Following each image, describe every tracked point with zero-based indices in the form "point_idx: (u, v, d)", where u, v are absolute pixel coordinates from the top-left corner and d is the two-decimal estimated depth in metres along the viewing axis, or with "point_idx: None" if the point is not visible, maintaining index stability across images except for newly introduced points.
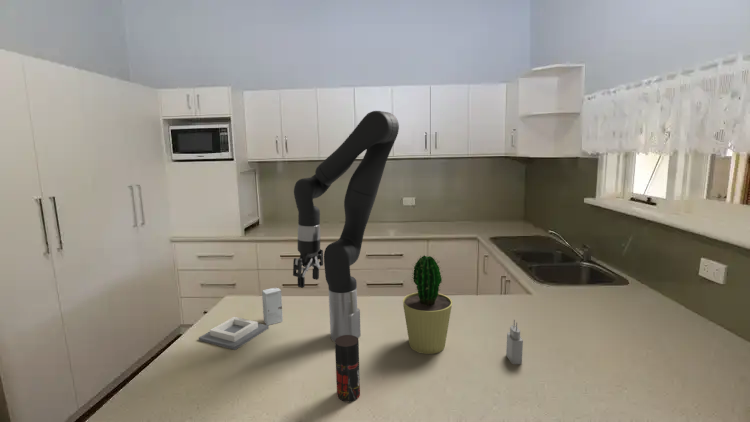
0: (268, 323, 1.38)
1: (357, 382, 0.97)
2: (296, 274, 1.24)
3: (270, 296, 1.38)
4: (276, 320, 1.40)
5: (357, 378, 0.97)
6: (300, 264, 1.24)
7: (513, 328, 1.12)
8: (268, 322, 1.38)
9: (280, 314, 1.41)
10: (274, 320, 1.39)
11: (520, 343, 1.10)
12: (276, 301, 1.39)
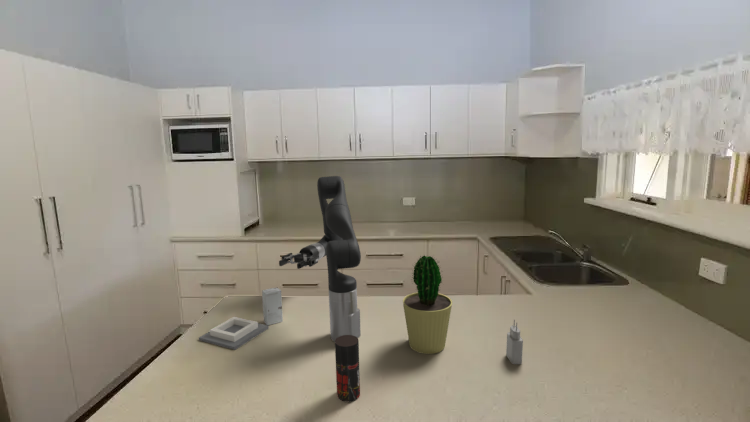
0: (268, 323, 1.38)
1: (357, 382, 0.97)
2: None
3: (270, 296, 1.38)
4: (276, 320, 1.40)
5: (357, 378, 0.97)
6: (289, 254, 1.59)
7: (513, 328, 1.12)
8: (268, 322, 1.38)
9: (280, 314, 1.41)
10: (274, 320, 1.39)
11: (520, 343, 1.10)
12: (276, 301, 1.39)
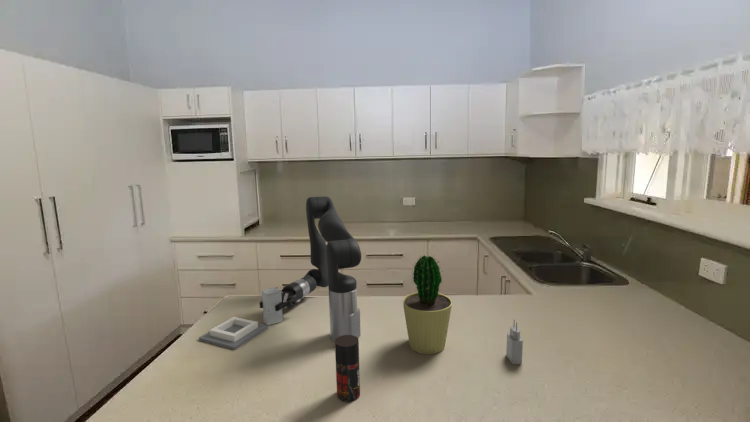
0: (268, 323, 1.38)
1: (357, 382, 0.97)
2: None
3: (270, 296, 1.38)
4: (276, 320, 1.40)
5: (357, 378, 0.97)
6: None
7: (513, 328, 1.12)
8: (268, 322, 1.38)
9: (280, 314, 1.41)
10: (274, 320, 1.39)
11: (520, 343, 1.10)
12: (276, 301, 1.39)
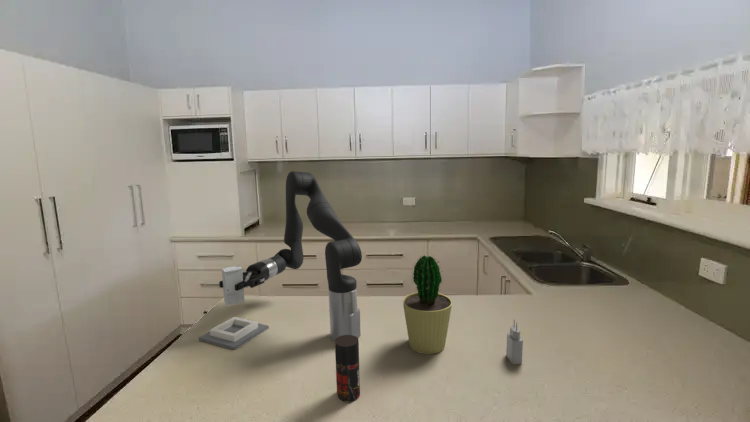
0: (228, 303, 1.29)
1: (357, 382, 0.97)
2: None
3: (229, 275, 1.28)
4: (237, 301, 1.30)
5: (357, 378, 0.97)
6: None
7: (513, 328, 1.12)
8: (228, 303, 1.28)
9: (241, 294, 1.31)
10: (234, 301, 1.29)
11: (520, 343, 1.10)
12: (236, 280, 1.29)
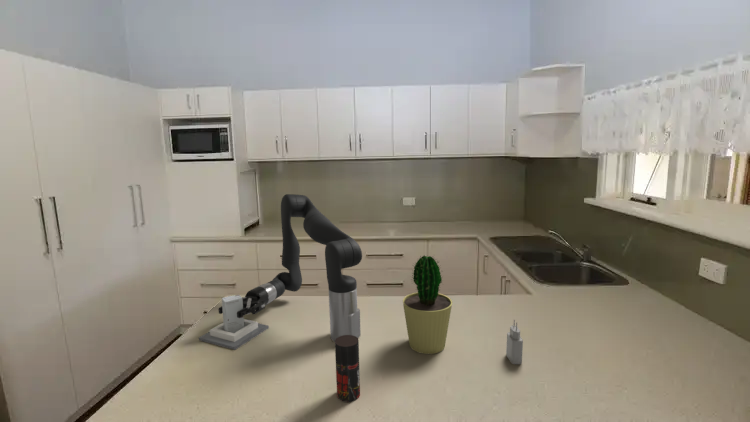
0: None
1: (357, 382, 0.97)
2: None
3: (229, 305, 1.29)
4: (237, 330, 1.31)
5: (357, 378, 0.97)
6: None
7: (513, 328, 1.12)
8: None
9: (241, 323, 1.32)
10: (234, 330, 1.30)
11: (520, 343, 1.10)
12: (236, 310, 1.30)
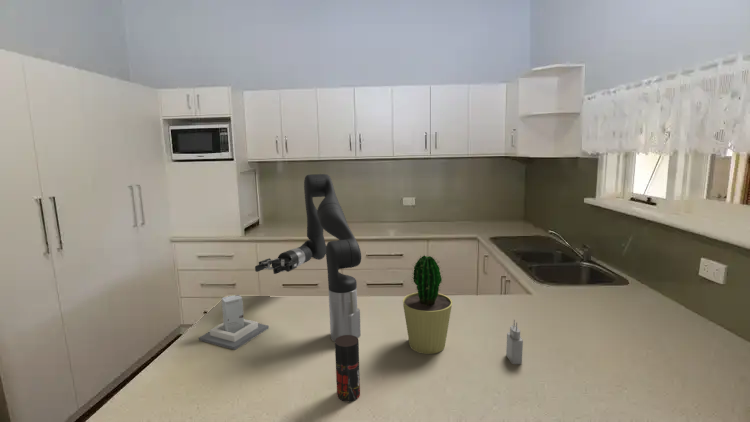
0: None
1: (357, 382, 0.97)
2: None
3: (229, 305, 1.29)
4: (237, 330, 1.31)
5: (357, 378, 0.97)
6: (267, 259, 1.52)
7: (513, 328, 1.12)
8: None
9: (241, 323, 1.32)
10: (234, 330, 1.30)
11: (520, 343, 1.10)
12: (236, 310, 1.30)
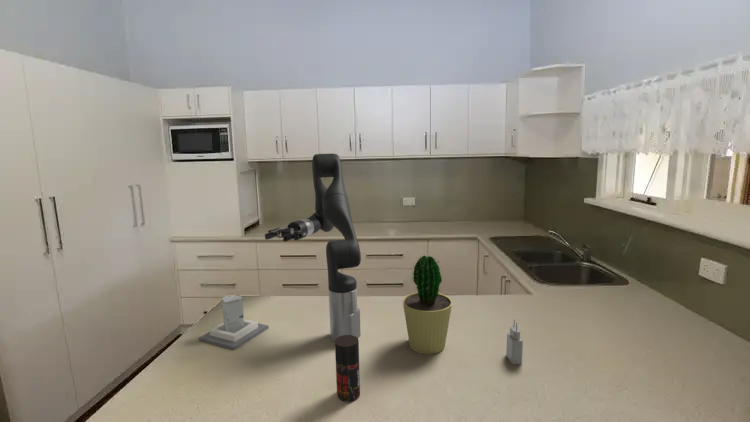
0: None
1: (357, 382, 0.97)
2: None
3: (229, 305, 1.29)
4: (237, 330, 1.31)
5: (357, 378, 0.97)
6: (276, 228, 1.53)
7: (513, 328, 1.12)
8: None
9: (241, 323, 1.32)
10: (234, 330, 1.30)
11: (520, 343, 1.10)
12: (236, 310, 1.30)
